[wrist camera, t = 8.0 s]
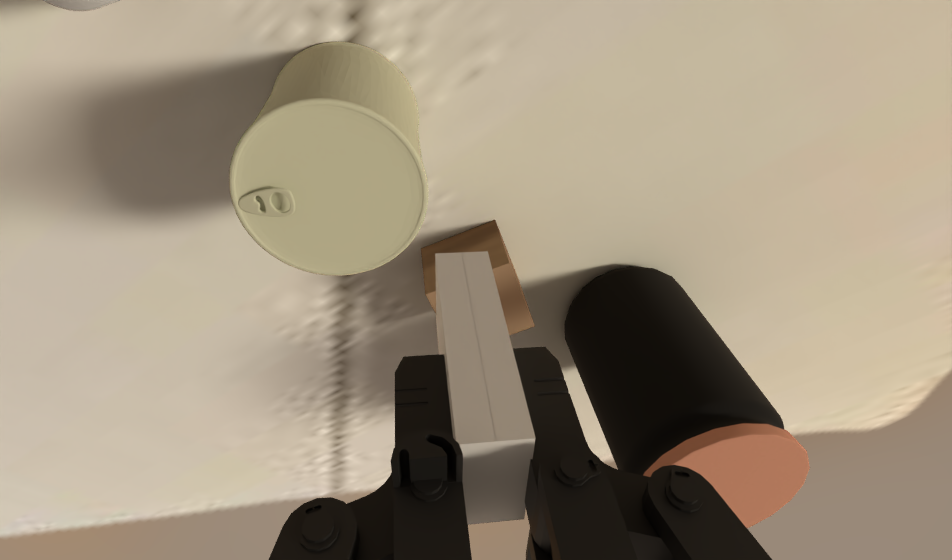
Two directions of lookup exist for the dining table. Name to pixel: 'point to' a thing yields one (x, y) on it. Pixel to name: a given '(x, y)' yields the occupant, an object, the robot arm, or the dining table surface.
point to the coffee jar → (679, 393)
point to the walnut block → (502, 267)
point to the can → (333, 163)
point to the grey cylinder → (80, 4)
